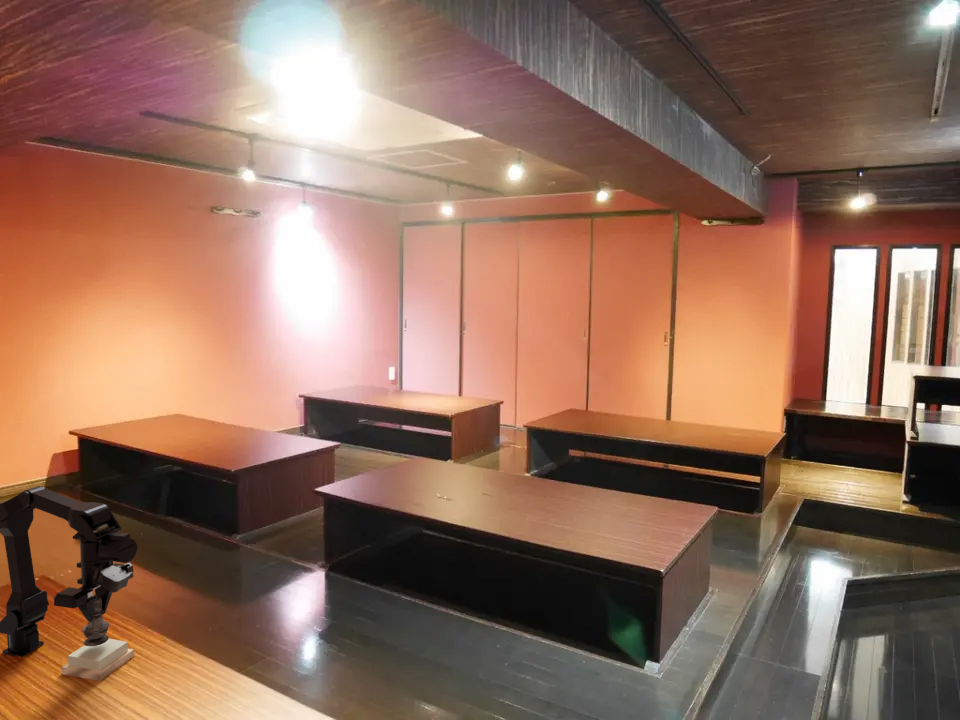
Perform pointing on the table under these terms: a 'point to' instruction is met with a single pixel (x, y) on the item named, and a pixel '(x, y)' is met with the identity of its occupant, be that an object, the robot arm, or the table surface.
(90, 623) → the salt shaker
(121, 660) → the birch slab
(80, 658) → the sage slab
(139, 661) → the table surface
